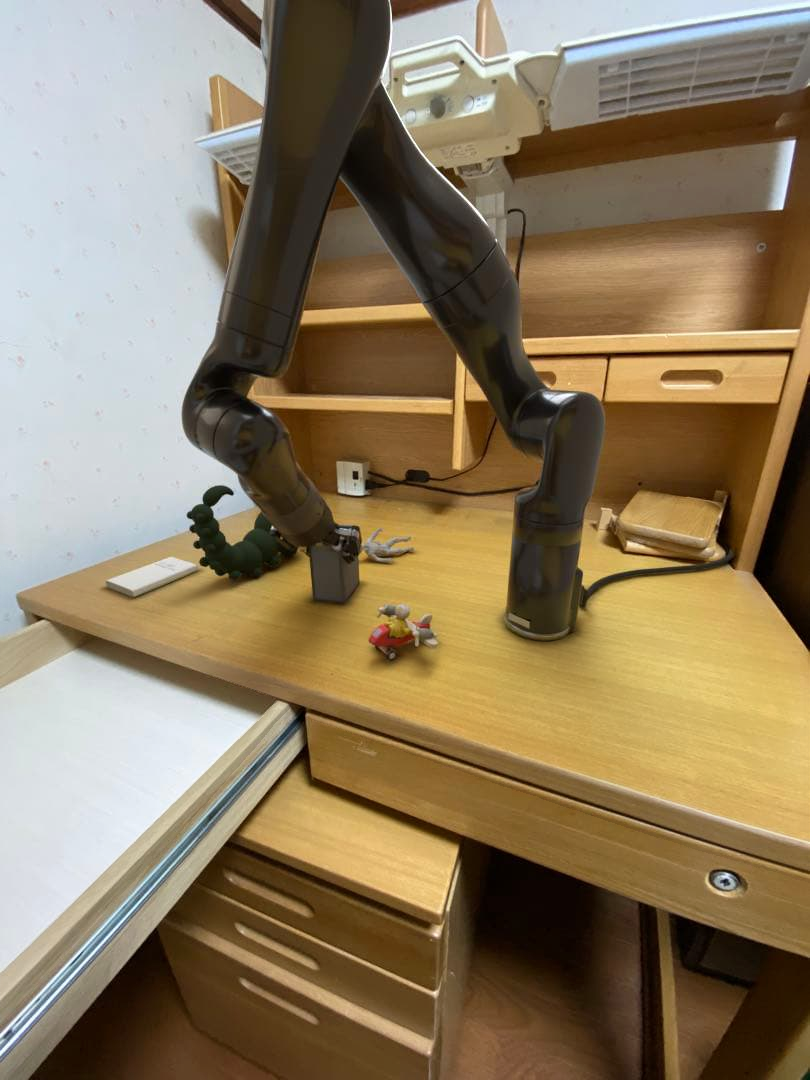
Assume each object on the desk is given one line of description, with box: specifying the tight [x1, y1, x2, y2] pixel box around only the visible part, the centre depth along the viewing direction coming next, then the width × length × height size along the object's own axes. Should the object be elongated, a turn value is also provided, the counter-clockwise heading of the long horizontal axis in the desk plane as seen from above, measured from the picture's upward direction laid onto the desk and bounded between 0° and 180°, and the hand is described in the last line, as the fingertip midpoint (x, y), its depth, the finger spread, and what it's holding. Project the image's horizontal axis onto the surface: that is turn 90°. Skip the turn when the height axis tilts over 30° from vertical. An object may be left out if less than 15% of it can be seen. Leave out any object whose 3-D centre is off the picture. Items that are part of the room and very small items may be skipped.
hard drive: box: [105, 556, 199, 598], centre depth 84 cm, size 2×8×12 cm
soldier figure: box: [359, 526, 415, 563], centre depth 92 cm, size 8×5×12 cm
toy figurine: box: [186, 484, 299, 582], centre depth 86 cm, size 9×19×25 cm
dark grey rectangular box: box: [308, 523, 361, 605], centre depth 77 cm, size 11×6×8 cm
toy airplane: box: [368, 602, 439, 661], centre depth 63 cm, size 9×9×6 cm
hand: (333, 556), depth 76 cm, fingers closed on dark grey rectangular box, 5 cm apart
